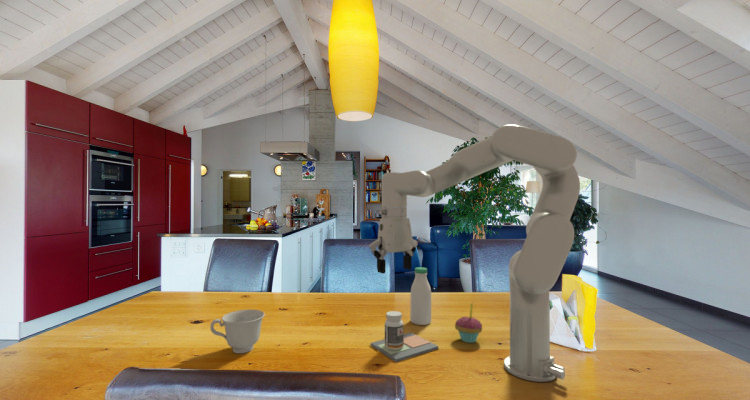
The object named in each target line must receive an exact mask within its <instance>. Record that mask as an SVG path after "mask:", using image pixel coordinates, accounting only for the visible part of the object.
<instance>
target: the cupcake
mask: <svg viewBox="0 0 750 400" xmlns="http://www.w3.org/2000/svg"><path fill="white" fill-rule="evenodd" d="M473 305H474V304H473V303H470V308H469V310H470V311H469V316H462V317H460V318H458V319H457V320H456V321H455V325H454V326H455V327H454V328H455V330H456V331H458V334H459V337H460V340H461V341H463V343H469V344H472V343H473V344H474V343H476V342H477V338H478V336H479V334H480V333H482V331H483V324H482V323H481V321H479V319H476V318H475V317H473Z"/></svg>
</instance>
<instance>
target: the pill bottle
mask: <svg viewBox="0 0 750 400" xmlns="http://www.w3.org/2000/svg"><path fill="white" fill-rule="evenodd" d="M402 317H403V313H402V312H400V311H395V310H392V311H391V310H390V311H387V312H386V314H385V318H386V320H385V321H384V339H385V347H386V348H387V349H389V350H399V349H402V348H403V346H404V335H403V334H404V322H403V320H402Z"/></svg>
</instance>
